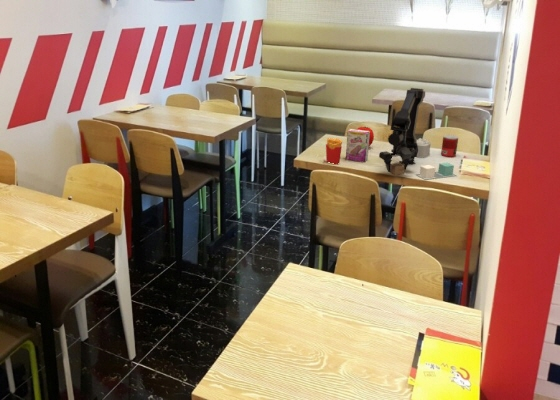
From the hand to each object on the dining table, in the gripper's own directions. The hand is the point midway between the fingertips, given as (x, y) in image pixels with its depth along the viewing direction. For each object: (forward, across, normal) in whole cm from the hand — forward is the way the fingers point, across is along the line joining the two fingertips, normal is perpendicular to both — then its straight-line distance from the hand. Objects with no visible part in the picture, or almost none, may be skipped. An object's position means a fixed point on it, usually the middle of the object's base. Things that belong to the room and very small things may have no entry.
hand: (396, 170), depth 269 cm
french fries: (+2, -22, +27) cm, 35 cm away
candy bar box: (+2, -8, +27) cm, 28 cm away
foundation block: (+1, +11, -10) cm, 15 cm away
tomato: (+2, +7, +47) cm, 48 cm away
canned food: (+2, +45, +18) cm, 48 cm away
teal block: (+1, +22, -10) cm, 24 cm away
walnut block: (+2, 0, 0) cm, 2 cm away
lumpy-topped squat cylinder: (+2, +31, +25) cm, 40 cm away
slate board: (+2, +16, -10) cm, 19 cm away
